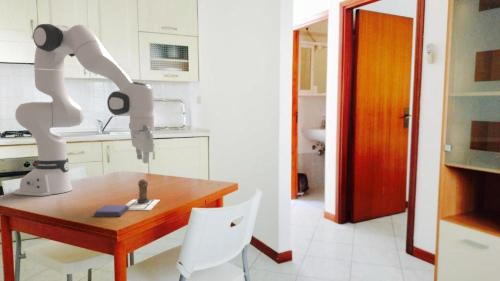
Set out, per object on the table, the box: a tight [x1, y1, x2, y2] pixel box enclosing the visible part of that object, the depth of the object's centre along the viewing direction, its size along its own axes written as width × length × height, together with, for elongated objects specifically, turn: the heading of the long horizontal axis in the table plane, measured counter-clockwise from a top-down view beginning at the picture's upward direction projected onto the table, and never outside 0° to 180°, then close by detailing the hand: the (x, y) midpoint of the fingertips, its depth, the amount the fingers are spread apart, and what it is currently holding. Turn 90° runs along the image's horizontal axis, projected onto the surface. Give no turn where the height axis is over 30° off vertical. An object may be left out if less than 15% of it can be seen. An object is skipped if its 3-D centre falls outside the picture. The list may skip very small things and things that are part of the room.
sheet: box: [125, 198, 161, 211], centre depth 134 cm, size 11×14×1 cm
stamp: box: [137, 178, 150, 204], centre depth 137 cm, size 4×4×9 cm
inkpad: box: [93, 204, 129, 218], centre depth 124 cm, size 9×9×2 cm
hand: (142, 161), depth 136 cm, fingers open, 8 cm apart
